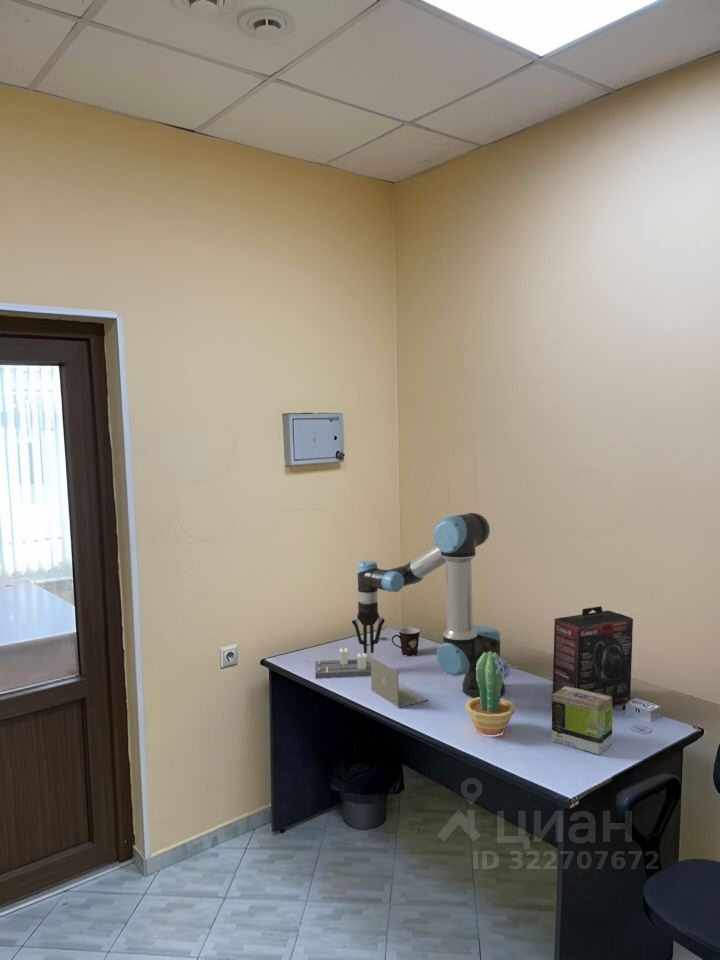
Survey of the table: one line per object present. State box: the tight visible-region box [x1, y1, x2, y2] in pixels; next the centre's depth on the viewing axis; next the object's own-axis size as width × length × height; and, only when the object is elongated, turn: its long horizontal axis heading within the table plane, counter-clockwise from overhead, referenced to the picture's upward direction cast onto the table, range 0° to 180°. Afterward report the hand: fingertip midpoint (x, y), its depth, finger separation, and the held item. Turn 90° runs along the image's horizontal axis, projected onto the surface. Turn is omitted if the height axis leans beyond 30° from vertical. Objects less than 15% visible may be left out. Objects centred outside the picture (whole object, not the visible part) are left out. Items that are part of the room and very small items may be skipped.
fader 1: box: [339, 647, 349, 664], centre depth 276 cm, size 4×3×5 cm
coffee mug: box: [391, 627, 421, 657], centre depth 292 cm, size 12×9×10 cm
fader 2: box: [357, 652, 367, 670], centre depth 270 cm, size 4×3×5 cm
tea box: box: [551, 686, 613, 755], centre depth 208 cm, size 15×10×15 cm
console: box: [314, 658, 371, 679], centre depth 273 cm, size 14×22×2 cm, turn 94°
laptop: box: [370, 656, 429, 709], centre depth 246 cm, size 18×12×13 cm
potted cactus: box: [464, 651, 516, 735], centre depth 216 cm, size 15×15×25 cm
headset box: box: [552, 605, 634, 706], centre depth 236 cm, size 24×13×33 cm, turn 115°
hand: (368, 661), depth 270 cm, fingers closed
